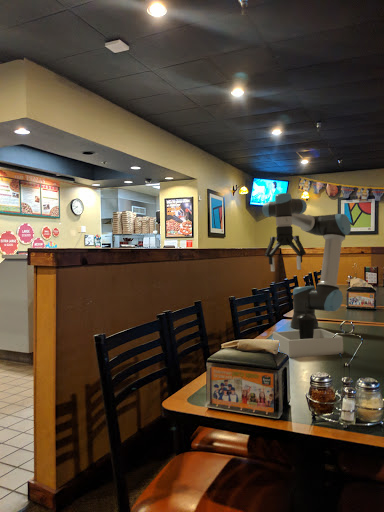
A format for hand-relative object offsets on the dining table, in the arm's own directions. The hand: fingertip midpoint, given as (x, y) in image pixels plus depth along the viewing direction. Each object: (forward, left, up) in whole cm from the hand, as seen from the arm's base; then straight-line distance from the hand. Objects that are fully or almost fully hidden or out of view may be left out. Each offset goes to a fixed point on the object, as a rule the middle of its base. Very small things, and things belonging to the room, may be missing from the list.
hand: (286, 270), depth 191 cm
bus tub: (-1, +18, -34) cm, 38 cm away
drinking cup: (-1, +18, -33) cm, 38 cm away
